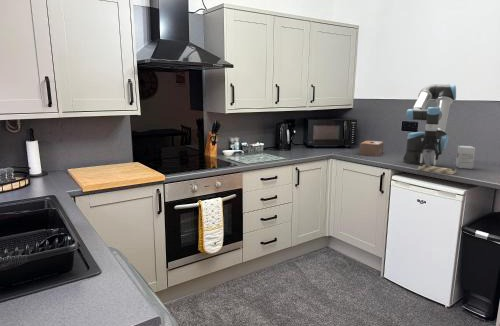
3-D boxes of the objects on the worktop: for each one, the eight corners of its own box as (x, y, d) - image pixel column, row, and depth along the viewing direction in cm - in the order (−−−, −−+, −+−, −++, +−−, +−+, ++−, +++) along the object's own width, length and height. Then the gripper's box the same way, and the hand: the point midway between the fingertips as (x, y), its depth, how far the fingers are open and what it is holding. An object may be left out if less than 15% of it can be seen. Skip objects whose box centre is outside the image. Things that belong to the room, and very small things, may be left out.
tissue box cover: (376, 156, 292) (377, 144, 290) (359, 154, 299) (360, 143, 298) (382, 152, 314) (383, 141, 312) (366, 151, 321) (367, 140, 319)
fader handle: (424, 166, 237) (426, 150, 235) (426, 165, 240) (428, 150, 238) (428, 167, 236) (430, 151, 234) (430, 166, 239) (432, 150, 237)
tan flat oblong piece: (417, 169, 238) (418, 165, 237) (422, 167, 245) (422, 163, 245) (452, 174, 224) (452, 169, 223) (456, 172, 231) (456, 167, 230)
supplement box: (455, 165, 255) (457, 145, 252) (469, 166, 252) (471, 146, 249) (458, 168, 246) (461, 147, 243) (473, 168, 244) (476, 147, 241)
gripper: (413, 129, 238) (410, 162, 242) (446, 131, 224) (442, 166, 228) (417, 129, 243) (413, 161, 247) (450, 131, 229) (446, 165, 233)
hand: (427, 163), depth 238 cm, fingers open, 8 cm apart
